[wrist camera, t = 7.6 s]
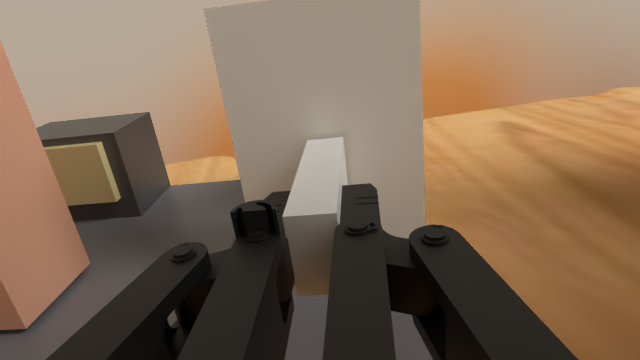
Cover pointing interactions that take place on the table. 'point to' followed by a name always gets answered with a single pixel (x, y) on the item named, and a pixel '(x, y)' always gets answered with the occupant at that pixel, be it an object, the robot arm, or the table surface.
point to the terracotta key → (30, 216)
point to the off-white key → (326, 94)
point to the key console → (146, 233)
